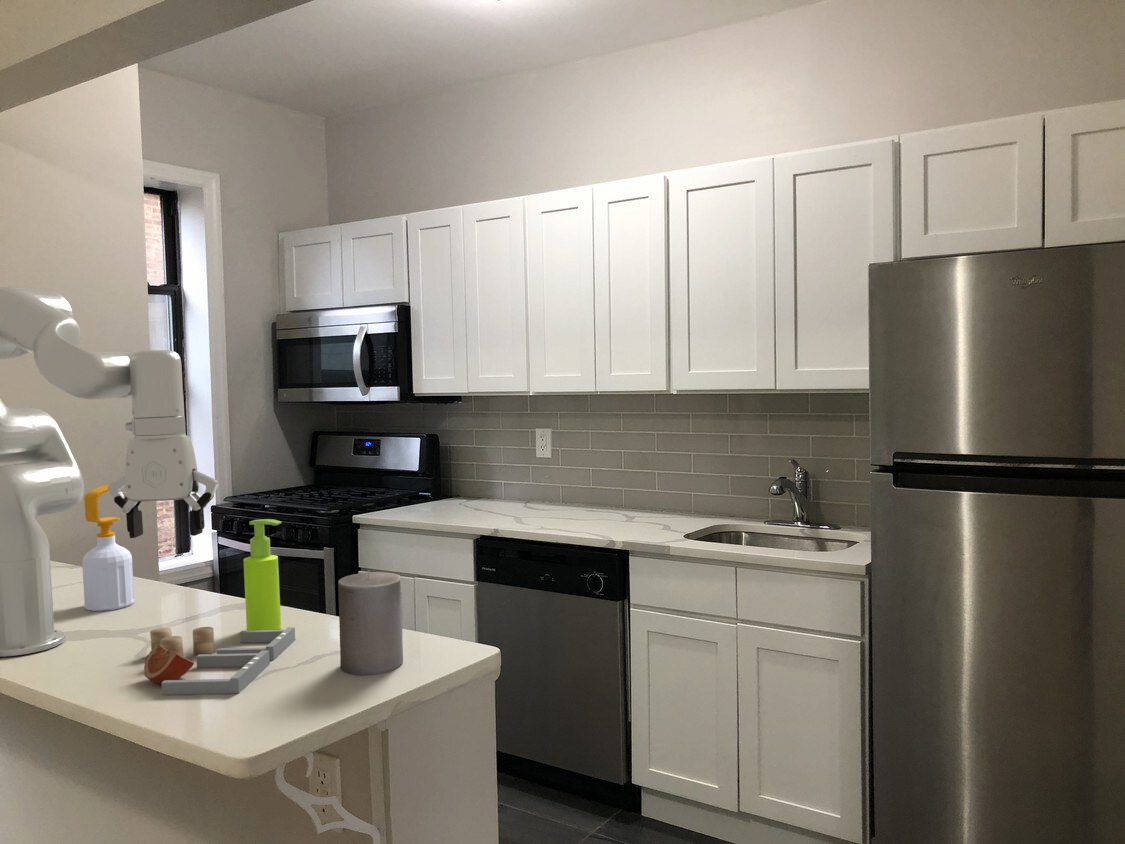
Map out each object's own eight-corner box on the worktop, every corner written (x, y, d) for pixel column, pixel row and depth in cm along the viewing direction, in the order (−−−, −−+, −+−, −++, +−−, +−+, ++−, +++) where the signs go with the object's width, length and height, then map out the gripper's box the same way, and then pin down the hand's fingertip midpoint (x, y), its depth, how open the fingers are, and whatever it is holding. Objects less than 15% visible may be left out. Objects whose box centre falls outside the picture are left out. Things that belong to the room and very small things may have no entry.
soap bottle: (143, 603, 186) (137, 484, 184) (100, 614, 178) (93, 489, 176) (118, 598, 190) (111, 482, 189) (75, 608, 183) (68, 487, 181)
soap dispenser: (276, 635, 160) (270, 522, 159) (240, 634, 161) (235, 522, 160) (292, 625, 166) (287, 517, 164) (257, 624, 167) (252, 517, 166)
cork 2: (158, 666, 144) (156, 642, 144) (167, 660, 147) (166, 636, 147) (178, 666, 144) (176, 641, 144) (186, 660, 147) (185, 635, 147)
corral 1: (162, 694, 131) (161, 679, 131) (199, 665, 144) (198, 651, 144) (238, 693, 131) (238, 677, 131) (269, 664, 144) (268, 649, 144)
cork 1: (148, 657, 149) (146, 633, 149) (157, 651, 152) (155, 628, 152) (167, 656, 149) (166, 632, 149) (176, 650, 152) (174, 627, 152)
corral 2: (217, 661, 146) (216, 647, 146) (242, 640, 157) (241, 627, 157) (273, 659, 146) (273, 645, 146) (295, 639, 157) (294, 626, 157)
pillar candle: (330, 664, 143) (326, 570, 142) (387, 650, 149) (383, 560, 148) (357, 680, 135) (353, 581, 134) (415, 665, 141) (412, 571, 140)
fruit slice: (137, 679, 138) (135, 647, 138) (181, 668, 143) (180, 637, 143) (156, 692, 132) (154, 659, 132) (202, 680, 137) (200, 648, 137)
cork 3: (190, 656, 149) (189, 632, 149) (198, 650, 152) (197, 626, 152) (209, 656, 149) (208, 632, 149) (217, 650, 152) (216, 626, 152)
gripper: (93, 432, 140) (100, 541, 141) (204, 427, 140) (211, 537, 141) (117, 429, 148) (124, 533, 149) (223, 425, 147) (229, 529, 148)
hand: (166, 535), depth 145 cm, fingers open, 9 cm apart
